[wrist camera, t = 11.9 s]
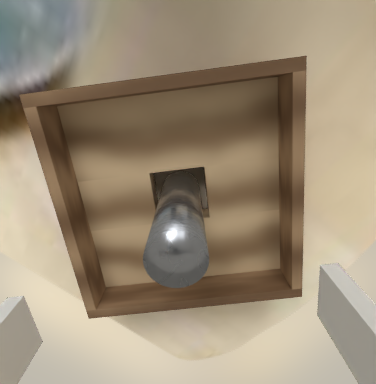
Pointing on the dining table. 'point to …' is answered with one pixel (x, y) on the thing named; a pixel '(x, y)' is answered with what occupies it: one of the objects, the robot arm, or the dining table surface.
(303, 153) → the box
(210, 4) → the dining table surface
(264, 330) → the dining table surface
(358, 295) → the robot arm
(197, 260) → the peg
